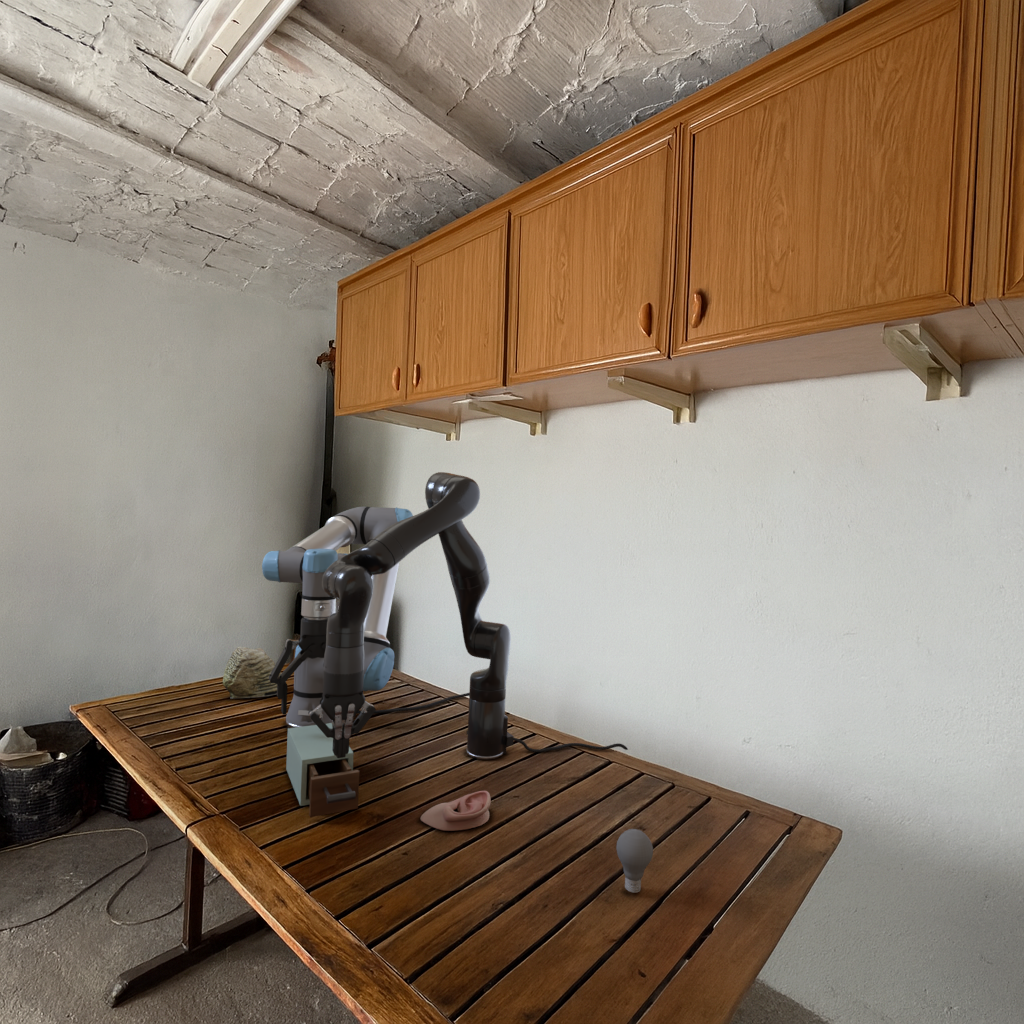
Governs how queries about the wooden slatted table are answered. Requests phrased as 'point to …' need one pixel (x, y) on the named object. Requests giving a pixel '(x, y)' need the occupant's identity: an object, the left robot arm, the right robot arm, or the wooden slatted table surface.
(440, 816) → the anatomical model
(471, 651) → the right robot arm
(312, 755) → the cabinet
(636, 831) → the light bulb
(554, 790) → the wooden slatted table surface
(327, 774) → the drawer
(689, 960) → the wooden slatted table surface
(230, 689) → the fossil
